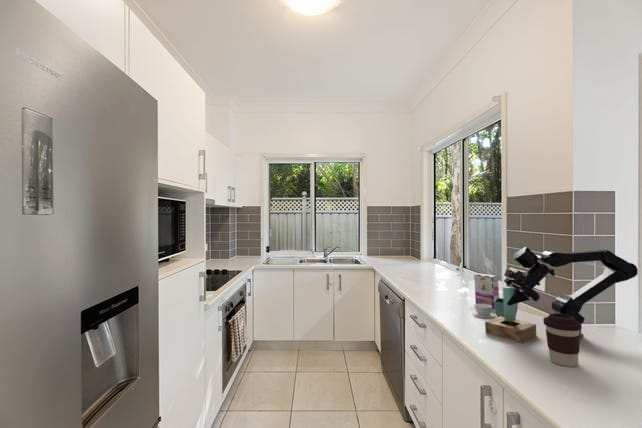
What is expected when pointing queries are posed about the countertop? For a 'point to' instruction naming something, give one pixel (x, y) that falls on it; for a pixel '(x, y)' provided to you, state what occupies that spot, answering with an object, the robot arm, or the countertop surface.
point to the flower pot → (501, 307)
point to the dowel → (508, 310)
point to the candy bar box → (486, 289)
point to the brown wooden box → (511, 329)
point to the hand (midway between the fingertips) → (505, 303)
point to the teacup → (483, 310)
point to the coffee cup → (563, 338)
